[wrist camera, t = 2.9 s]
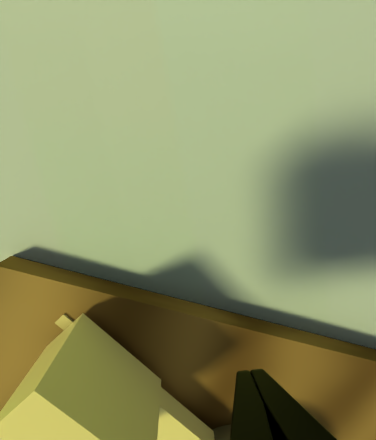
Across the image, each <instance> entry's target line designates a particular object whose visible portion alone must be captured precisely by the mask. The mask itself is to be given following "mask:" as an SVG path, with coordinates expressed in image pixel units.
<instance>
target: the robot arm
mask: <svg viewBox="0 0 376 440" xmlns="http://www.w3.org/2000/svg"><path fill="white" fill-rule="evenodd" d="M230 440H337V439H336V438H335V437H334V436H333V435H332V434H331V433H330V432H329V431H328V430H327V429H326V428H325V427H323V426H322V425H321V424H320V423H319V422H318V421H317V420H316V419H315V418H314V417H313V416H312V415H311V414H310V413H309V412H308V411H307V410H306V409H305V408H304V407H302V406H301V405H300V404H299V403H298V402H297V401H296V400H295V399H294V398H293V397H292V396H291V395H290V394H289V393H288V392H287V391H286V390H285V389H284V388H283V387H281V386H280V385H279V384H278V383H277V382H276V381H275V380H274V379H273V378H272V377H271V376H270V375H269V374H268V373H267V372H266V371H265V370H263V369H253V370H251V371H249V370H243V371H238V372H237V373H236V382H235V392H234V401H233V411H232V420H231V430H230Z"/></svg>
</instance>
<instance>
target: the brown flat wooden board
mask: <svg viewBox="0 0 376 440" xmlns="http://www.w3.org/2000/svg"><path fill="white" fill-rule="evenodd" d="M82 313H83V314H85V315H86V316H87V317H88V318H89V319H91V320H92V321H93V322H94V323H95V324H96V325H98V326H99V327H100V328H101V329H102V330H103V331H105V332H106V333H107V334H108V335H109V336H111V337H112V338H113V339H114V340H115V341H116V342H118V343H119V344H120V345H121V346H122V347H123V348H125V349H126V350H127V351H128V352H129V353H131V354H132V355H133V356H134V357H135V358H136V359H138V360H139V361H140V362H141V363H142V364H143V365H145V366H146V367H147V368H148V369H149V370H151V371H152V372H153V373H154V374H155V375H156V376H158V377H159V378H160V379H161V387H162V388H163V389H164V390H165V391H166V392H168V393H169V394H170V395H171V396H172V397H174V398H175V399H176V400H177V401H178V402H179V403H181V404H182V405H183V406H184V407H185V408H187V409H188V410H189V411H190V412H191V413H193V414H194V415H195V416H196V417H197V418H198V419H200V420H201V421H202V422H203V423H204V424H206V425H207V426H208V427H209V428H210V429H215V428H217V427H221V426H224V425H229V424H231V420H232V411H233V401H234V392H235V382H236V373H237V372H238V371H243V370H249V371H251V370H253V369H263V370H265V371H266V372H267V373H268V374H269V375H270V376H271V377H272V378H273V379H274V380H275V381H276V382H277V383H278V384H279V385H280V386H281V387H283V388H284V389H285V390H286V391H287V392H288V393H289V394H290V395H291V396H292V397H293V398H294V399H295V400H296V401H297V402H298V403H299V404H300V405H301V406H302V407H304V408H305V409H306V410H307V411H308V412H309V413H310V414H311V415H312V416H313V417H314V418H315V419H316V420H317V421H318V422H319V423H320V424H321V425H322V426H323V427H325V428H326V429H327V430H328V431H329V432H330V433H331V434H332V435H333V436H334V437H335V438H336V439H337V440H376V350H375V349H372V348H368V347H364V346H360V345H356V344H352V343H348V342H344V341H341V340H337V339H333V338H329V337H325V336H321V335H317V334H313V333H309V332H306V331H302V330H298V329H294V328H290V327H286V326H282V325H278V324H275V323H271V322H267V321H263V320H259V319H255V318H251V317H247V316H244V315H240V314H236V313H232V312H228V311H224V310H220V309H216V308H212V307H209V306H205V305H201V304H197V303H193V302H189V301H185V300H181V299H178V298H174V297H170V296H166V295H162V294H158V293H154V292H150V291H147V290H143V289H139V288H135V287H131V286H127V285H123V284H119V283H115V282H112V281H108V280H104V279H100V278H96V277H92V276H88V275H84V274H81V273H77V272H73V271H69V270H65V269H61V268H57V267H53V266H50V265H46V264H42V263H38V262H34V261H30V260H26V259H22V258H18V257H15V256H11V257H9V258H7V259H5V260H3V261H2V262H0V411H1V410H2V408H3V407H4V406H5V404H6V403H7V401H8V400H9V399H10V397H11V396H12V394H13V393H14V392H15V390H16V389H17V387H18V386H19V385H20V383H21V382H22V380H23V379H24V378H25V376H26V375H27V373H28V372H29V370H30V369H31V368H32V366H33V365H34V363H35V362H36V361H37V359H38V358H39V356H40V355H41V354H42V352H43V351H44V349H45V348H46V347H47V346H48V345H49V344H50V343H51V342H52V341H53V340H54V339H55V338H56V337H57V336H58V335H60V334H61V333H62V332H63V331H64V330H65V329H66V328H67V327H68V326H69V325H70V324H72V323H73V322H74V321H75V320H76V319H77V318H78V317H79V316H80V315H81V314H82Z"/></svg>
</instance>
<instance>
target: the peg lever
mask: <svg viewBox="0 0 376 440" xmlns="http://www.w3.org/2000/svg"><path fill="white" fill-rule="evenodd" d="M230 430H231V424H229V425H224V426H221V427H217V428H215V429H210V428H209V427H208V426H207V425H206V424H204V423H203V422H202V421H201V420H200V419H198V418H197V417H196V416H195V415H194V414H193V413H191V412H190V411H189V410H188V409H187V408H185V407H184V406H183V405H182V404H181V403H179V402H178V401H177V400H176V399H175V398H174V397H172V396H171V395H170V394H169V393H168V392H166V391H165V390H164V389H163V388H162V387H161V379H160V378H159V377H158V376H156V375H155V374H154V373H153V372H152V371H151V370H149V369H148V368H147V367H146V366H145V365H143V364H142V363H141V362H140V361H139V360H138V359H136V358H135V357H134V356H133V355H132V354H131V353H129V352H128V351H127V350H126V349H125V348H123V347H122V346H121V345H120V344H119V343H118V342H116V341H115V340H114V339H113V338H112V337H111V336H109V335H108V334H107V333H106V332H105V331H103V330H102V329H101V328H100V327H99V326H98V325H96V324H95V323H94V322H93V321H92V320H91V319H89V318H88V317H87V316H86V315H85V314H83V313H82V314H81V315H80V316H79V317H78V318H77V319H76V320H75V321H74V322H73V323H72V324H70V325H69V326H68V327H67V328H66V329H65V330H64V331H63V332H62V333H61V334H60V335H58V336H57V337H56V338H55V339H54V340H53V341H52V342H51V343H50V344H49V345H48V346H47V347H46V348H45V349H44V351H43V352H42V354H41V355H40V356H39V358H38V359H37V361H36V362H35V363H34V365H33V366H32V368H31V369H30V370H29V372H28V373H27V375H26V376H25V378H24V379H23V380H22V382H21V383H20V385H19V386H18V387H17V389H16V390H15V392H14V393H13V394H12V396H11V397H10V399H9V400H8V401H7V403H6V404H5V406H4V407H3V408H2V410H1V411H0V440H230Z"/></svg>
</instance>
